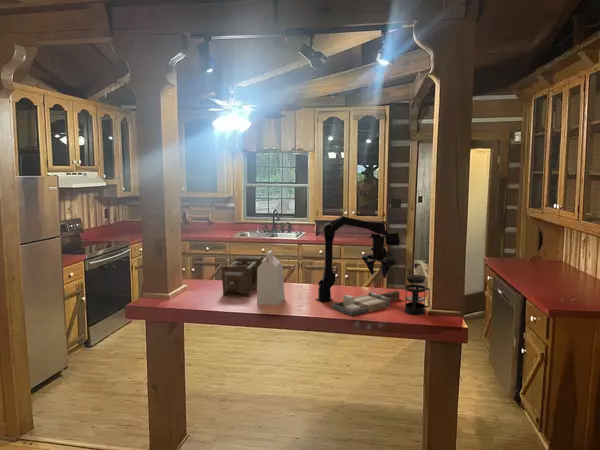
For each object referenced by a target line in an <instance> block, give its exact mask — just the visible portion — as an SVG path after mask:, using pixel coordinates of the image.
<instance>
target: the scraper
mask: <svg viewBox="0 0 600 450" xmlns="http://www.w3.org/2000/svg"><path fill="white" fill-rule="evenodd" d="M368 296H371V297H374V298H376V299H379V300H382V301H385V302H386V307H387V308H388V307H391V302H393V301H398V300H400V291H399V290H393V291H389V292H384V293H380V294H378V293H375V292H372V291H369V292H368Z"/></svg>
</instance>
